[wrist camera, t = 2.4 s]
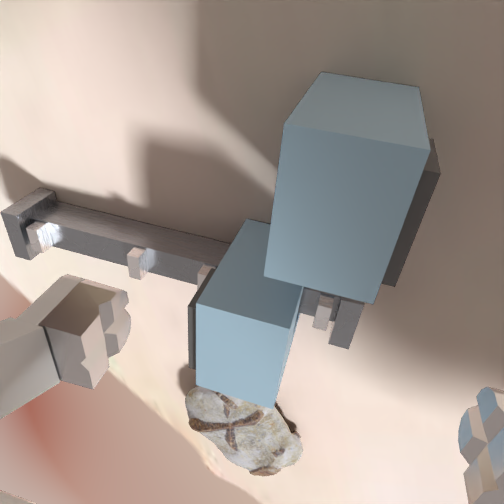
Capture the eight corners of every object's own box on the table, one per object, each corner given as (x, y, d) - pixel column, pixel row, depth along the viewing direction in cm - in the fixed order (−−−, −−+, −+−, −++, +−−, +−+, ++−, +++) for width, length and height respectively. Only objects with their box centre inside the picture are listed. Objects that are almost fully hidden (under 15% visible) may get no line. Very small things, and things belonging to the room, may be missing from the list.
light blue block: (432, 89, 18) (451, 154, 12) (391, 210, 22) (388, 308, 16) (321, 71, 19) (284, 123, 13) (300, 191, 23) (263, 276, 16)
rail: (367, 266, 24) (363, 305, 21) (353, 308, 26) (348, 349, 24) (39, 187, 28) (0, 211, 26) (50, 229, 31) (15, 256, 28)
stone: (175, 376, 38) (158, 407, 35) (251, 358, 33) (238, 392, 30) (245, 451, 42) (234, 483, 39) (321, 445, 37) (316, 481, 34)
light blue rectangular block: (317, 235, 24) (289, 329, 18) (300, 310, 28) (273, 409, 22) (237, 216, 25) (183, 299, 19) (231, 292, 29) (185, 381, 23)
